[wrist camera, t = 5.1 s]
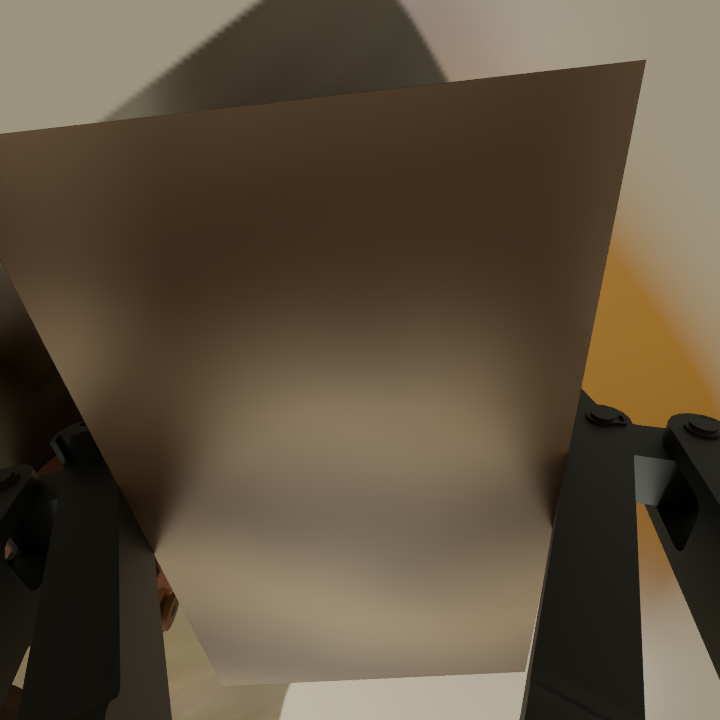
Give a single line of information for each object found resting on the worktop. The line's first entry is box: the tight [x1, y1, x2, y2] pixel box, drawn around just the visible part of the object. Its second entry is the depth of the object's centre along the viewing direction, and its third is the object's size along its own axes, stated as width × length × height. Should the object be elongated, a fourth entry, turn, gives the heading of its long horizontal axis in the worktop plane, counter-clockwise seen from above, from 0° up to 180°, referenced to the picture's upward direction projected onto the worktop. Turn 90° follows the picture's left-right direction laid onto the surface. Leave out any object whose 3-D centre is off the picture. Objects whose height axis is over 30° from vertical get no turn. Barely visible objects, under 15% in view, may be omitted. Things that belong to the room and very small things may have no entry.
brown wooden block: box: [0, 60, 646, 686], centre depth 14 cm, size 16×10×10 cm, turn 5°
